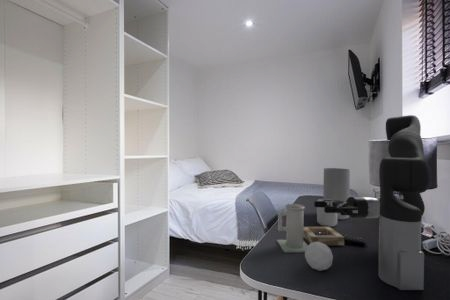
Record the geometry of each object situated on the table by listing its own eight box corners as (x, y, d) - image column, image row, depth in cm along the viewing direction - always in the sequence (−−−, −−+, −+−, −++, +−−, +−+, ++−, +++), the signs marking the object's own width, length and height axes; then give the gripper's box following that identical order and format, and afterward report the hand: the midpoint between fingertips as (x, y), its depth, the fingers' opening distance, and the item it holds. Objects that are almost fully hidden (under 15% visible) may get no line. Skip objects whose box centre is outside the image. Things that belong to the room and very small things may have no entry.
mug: (335, 228, 108) (335, 203, 108) (314, 224, 113) (315, 201, 113) (339, 222, 118) (340, 199, 118) (320, 218, 123) (321, 197, 123)
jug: (307, 248, 85) (307, 208, 85) (280, 248, 84) (281, 208, 84) (300, 241, 91) (300, 204, 91) (275, 241, 91) (276, 203, 91)
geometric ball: (310, 276, 72) (295, 251, 76) (330, 263, 75) (315, 239, 78) (322, 275, 66) (305, 247, 69) (344, 261, 69) (326, 234, 72)
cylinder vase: (354, 218, 125) (355, 169, 125) (336, 220, 120) (337, 170, 120) (335, 212, 136) (336, 167, 136) (317, 214, 132) (318, 168, 132)
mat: (313, 252, 83) (313, 250, 83) (284, 252, 83) (284, 250, 83) (302, 241, 93) (302, 239, 93) (276, 241, 93) (276, 239, 93)
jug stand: (344, 245, 90) (344, 237, 90) (312, 245, 89) (312, 237, 89) (329, 233, 102) (329, 226, 102) (300, 233, 101) (300, 226, 101)
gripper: (352, 193, 96) (311, 192, 95) (376, 200, 82) (328, 200, 81) (351, 212, 96) (311, 212, 95) (375, 223, 81) (328, 222, 81)
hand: (319, 206), depth 88 cm, fingers open, 8 cm apart
